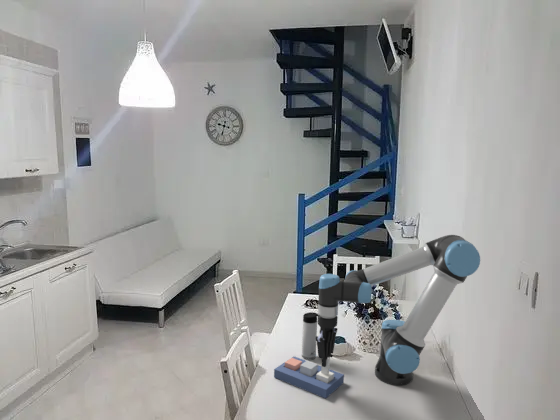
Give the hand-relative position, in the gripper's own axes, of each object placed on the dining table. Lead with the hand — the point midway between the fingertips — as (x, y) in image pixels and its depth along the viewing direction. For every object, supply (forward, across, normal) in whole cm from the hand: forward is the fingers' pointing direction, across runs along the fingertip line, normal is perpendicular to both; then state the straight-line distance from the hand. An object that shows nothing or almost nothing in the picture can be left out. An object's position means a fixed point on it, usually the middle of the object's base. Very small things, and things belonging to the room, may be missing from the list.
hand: (325, 373), depth 166 cm
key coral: (+4, 0, -15) cm, 15 cm away
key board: (+6, 0, -7) cm, 9 cm away
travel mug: (+6, -17, -18) cm, 25 cm away
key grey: (+3, 0, -7) cm, 8 cm away
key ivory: (+4, 0, 0) cm, 4 cm away
